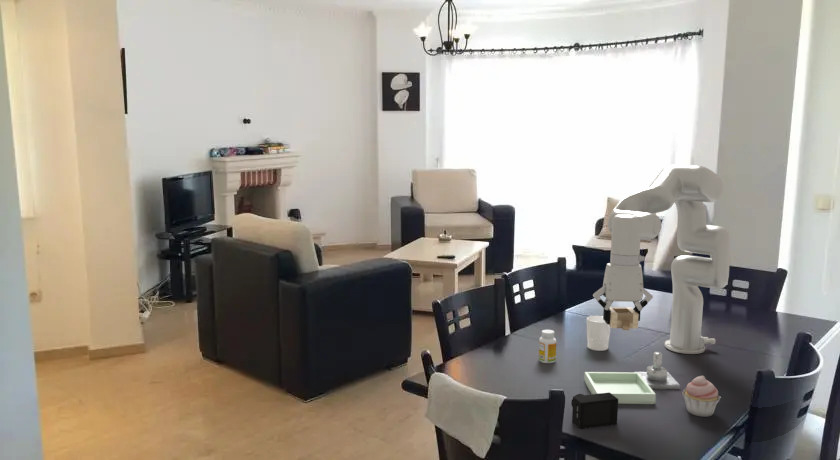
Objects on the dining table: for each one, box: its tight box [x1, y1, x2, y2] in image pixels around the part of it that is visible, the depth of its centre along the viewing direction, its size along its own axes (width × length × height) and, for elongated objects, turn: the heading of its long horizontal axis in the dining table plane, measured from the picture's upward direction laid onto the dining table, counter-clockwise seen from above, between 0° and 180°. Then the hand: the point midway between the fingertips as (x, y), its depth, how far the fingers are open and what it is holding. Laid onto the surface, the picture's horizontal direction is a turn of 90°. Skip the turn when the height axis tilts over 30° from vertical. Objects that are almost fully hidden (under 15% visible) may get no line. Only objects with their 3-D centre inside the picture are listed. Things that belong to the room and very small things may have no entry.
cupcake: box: [682, 375, 722, 418], centre depth 172 cm, size 9×9×10 cm
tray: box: [583, 371, 657, 405], centre depth 186 cm, size 16×16×3 cm
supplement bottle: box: [538, 329, 557, 364], centre depth 210 cm, size 5×5×10 cm
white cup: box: [586, 315, 611, 352], centre depth 222 cm, size 8×8×10 cm
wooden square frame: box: [609, 306, 639, 331], centre depth 181 cm, size 9×7×4 cm
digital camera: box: [571, 393, 619, 430], centre depth 167 cm, size 10×5×7 cm, turn 104°
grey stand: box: [637, 351, 681, 390], centre depth 192 cm, size 10×10×9 cm
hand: (621, 322), depth 182 cm, fingers closed on wooden square frame, 7 cm apart
